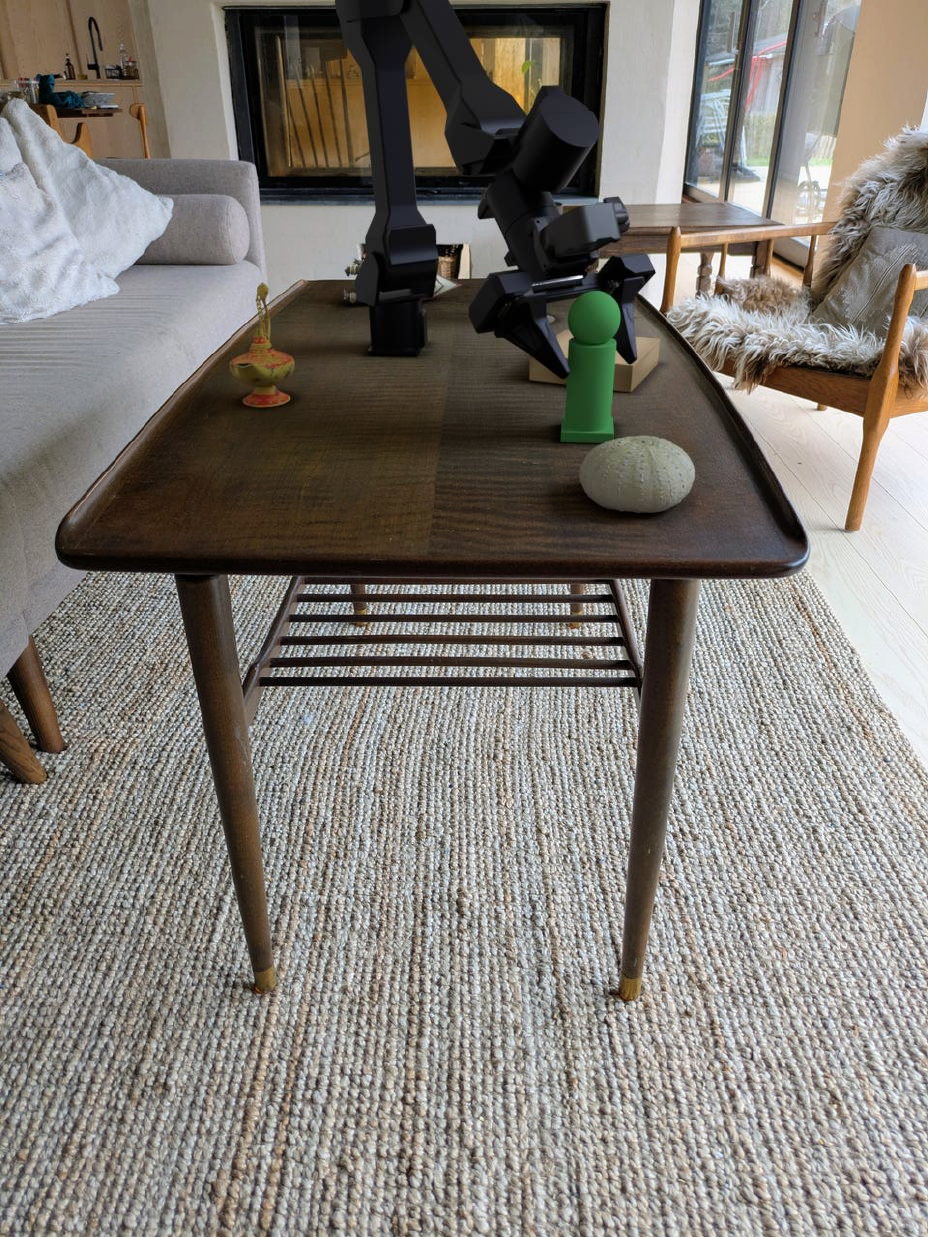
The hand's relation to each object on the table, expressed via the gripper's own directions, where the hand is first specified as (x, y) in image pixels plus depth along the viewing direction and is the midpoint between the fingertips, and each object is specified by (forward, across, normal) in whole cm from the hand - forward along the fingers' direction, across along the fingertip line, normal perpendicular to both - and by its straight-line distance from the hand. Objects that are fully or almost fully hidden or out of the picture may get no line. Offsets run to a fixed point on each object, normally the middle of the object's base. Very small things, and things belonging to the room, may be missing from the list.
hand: (600, 369), depth 84 cm
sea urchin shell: (+14, -7, -4) cm, 16 cm away
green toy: (+4, 0, +6) cm, 7 cm away
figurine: (-40, +15, +49) cm, 65 cm away
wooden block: (-7, +14, +17) cm, 23 cm away
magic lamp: (-15, -22, +25) cm, 37 cm away
